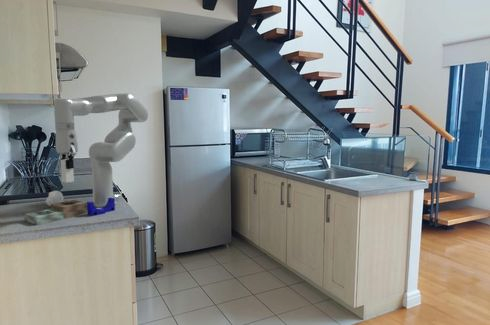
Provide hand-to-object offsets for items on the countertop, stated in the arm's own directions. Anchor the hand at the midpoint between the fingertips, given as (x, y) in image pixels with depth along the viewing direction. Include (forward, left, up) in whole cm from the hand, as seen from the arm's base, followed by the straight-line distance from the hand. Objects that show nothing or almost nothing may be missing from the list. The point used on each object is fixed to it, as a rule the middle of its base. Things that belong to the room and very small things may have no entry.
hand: (67, 167), depth 154 cm
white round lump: (-4, -20, -22) cm, 30 cm away
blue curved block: (-10, +10, -22) cm, 26 cm away
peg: (0, 0, -6) cm, 6 cm away
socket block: (+6, 0, -21) cm, 22 cm away
